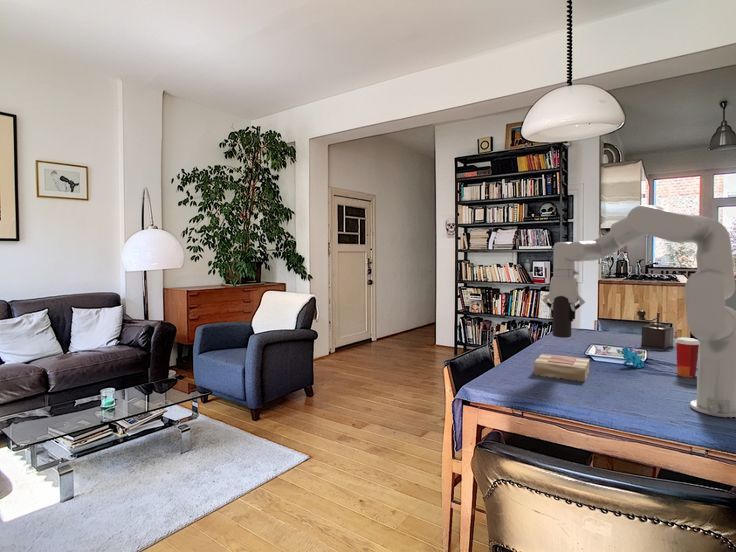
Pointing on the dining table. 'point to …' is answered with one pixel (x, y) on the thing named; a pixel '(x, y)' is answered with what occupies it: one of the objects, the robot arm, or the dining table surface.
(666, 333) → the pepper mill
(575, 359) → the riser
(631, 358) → the blue lumpy piece
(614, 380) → the dining table surface
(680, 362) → the paper cup
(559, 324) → the vinegar
